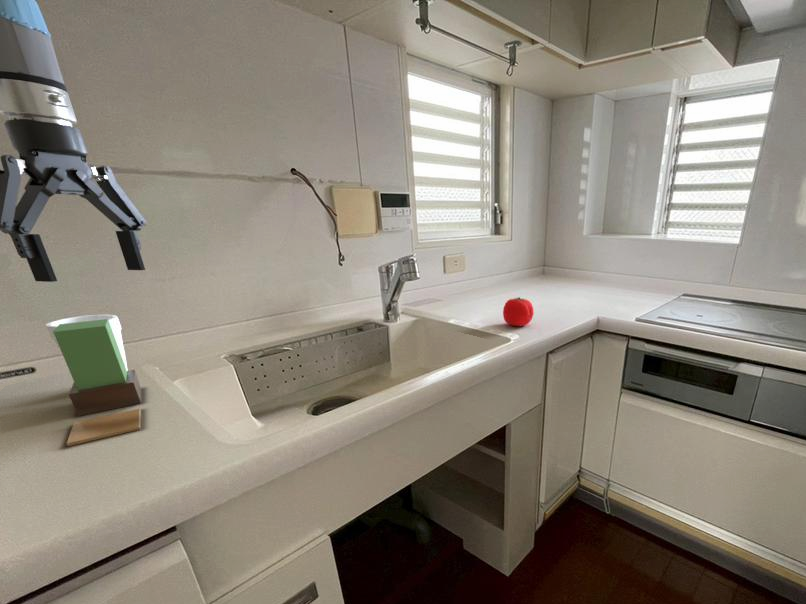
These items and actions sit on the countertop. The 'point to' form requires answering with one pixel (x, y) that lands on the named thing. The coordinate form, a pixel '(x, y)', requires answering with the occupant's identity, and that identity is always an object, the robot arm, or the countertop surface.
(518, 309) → the tomato
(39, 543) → the countertop surface
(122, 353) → the foam cup
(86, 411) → the walnut base
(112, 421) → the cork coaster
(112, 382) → the green block
